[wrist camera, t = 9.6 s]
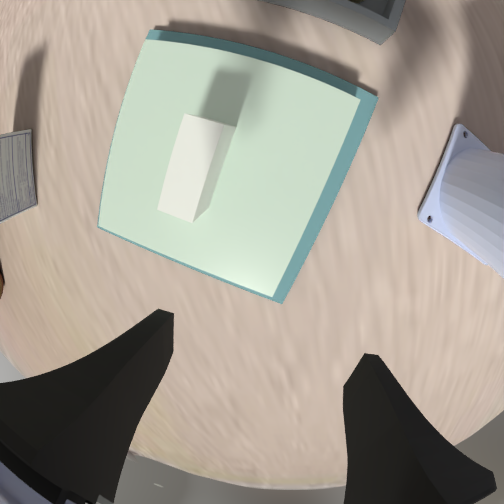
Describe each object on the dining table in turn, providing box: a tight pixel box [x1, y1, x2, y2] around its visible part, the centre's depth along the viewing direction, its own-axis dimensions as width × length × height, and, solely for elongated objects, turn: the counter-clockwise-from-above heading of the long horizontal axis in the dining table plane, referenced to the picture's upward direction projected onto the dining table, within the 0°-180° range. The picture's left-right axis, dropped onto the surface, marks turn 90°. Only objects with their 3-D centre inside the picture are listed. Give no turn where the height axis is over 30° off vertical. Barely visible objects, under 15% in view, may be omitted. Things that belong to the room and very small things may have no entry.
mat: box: [97, 30, 378, 304], centre depth 17 cm, size 16×16×1 cm
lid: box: [98, 39, 360, 297], centre depth 14 cm, size 13×13×5 cm
